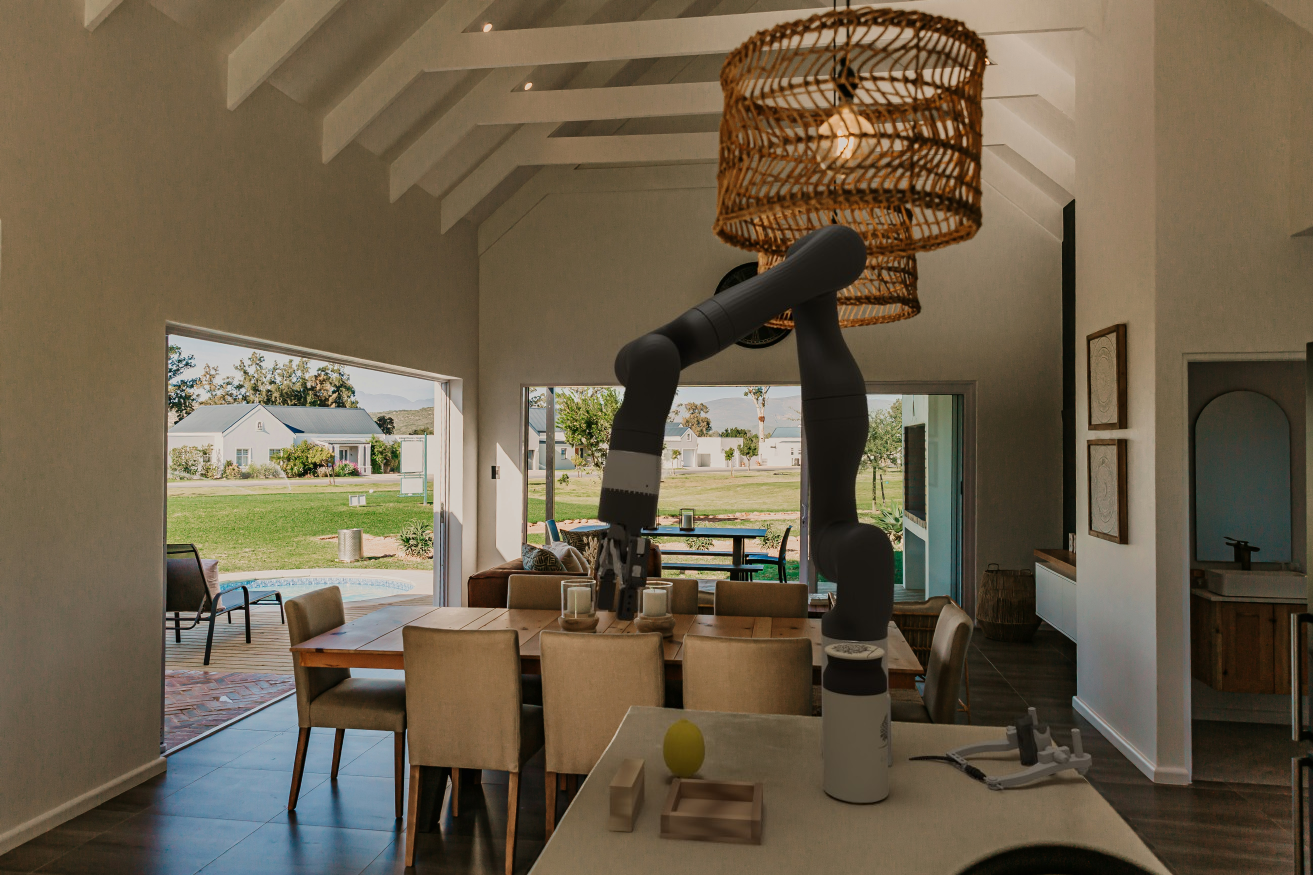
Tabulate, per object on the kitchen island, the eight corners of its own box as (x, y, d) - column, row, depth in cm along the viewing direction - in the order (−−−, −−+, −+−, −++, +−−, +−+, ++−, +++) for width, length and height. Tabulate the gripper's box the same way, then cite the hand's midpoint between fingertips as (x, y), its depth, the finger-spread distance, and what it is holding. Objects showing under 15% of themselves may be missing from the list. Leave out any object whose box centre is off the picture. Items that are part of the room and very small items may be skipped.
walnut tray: (763, 807, 102) (762, 782, 102) (760, 848, 91) (760, 820, 91) (673, 802, 104) (673, 777, 104) (660, 841, 93) (660, 814, 93)
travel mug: (812, 794, 105) (811, 650, 106) (840, 776, 112) (838, 640, 112) (873, 810, 100) (871, 659, 101) (898, 789, 107) (896, 647, 107)
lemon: (701, 789, 107) (701, 726, 107) (659, 786, 108) (659, 723, 108) (707, 773, 112) (707, 713, 113) (667, 770, 114) (667, 711, 114)
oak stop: (644, 800, 103) (644, 759, 104) (631, 831, 95) (631, 786, 95) (624, 799, 104) (624, 758, 104) (609, 830, 95) (609, 785, 95)
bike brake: (1037, 745, 122) (911, 776, 118) (1030, 699, 121) (903, 728, 118) (1103, 781, 108) (962, 817, 105) (1095, 729, 108) (954, 764, 105)
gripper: (677, 494, 103) (660, 626, 102) (639, 490, 116) (624, 608, 115) (620, 486, 100) (601, 622, 99) (587, 483, 114) (571, 603, 112)
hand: (613, 614), depth 107 cm, fingers open, 8 cm apart
